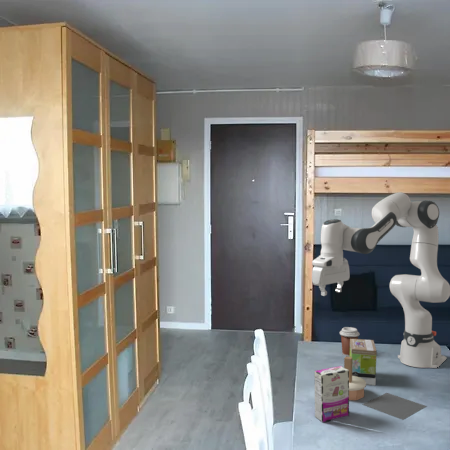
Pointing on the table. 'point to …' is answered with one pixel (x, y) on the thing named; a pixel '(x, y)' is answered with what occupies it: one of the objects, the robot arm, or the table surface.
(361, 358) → the tea box
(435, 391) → the table surface
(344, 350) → the coffee cup
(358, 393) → the bowl
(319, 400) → the candy bar box
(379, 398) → the mat
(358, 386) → the lid
